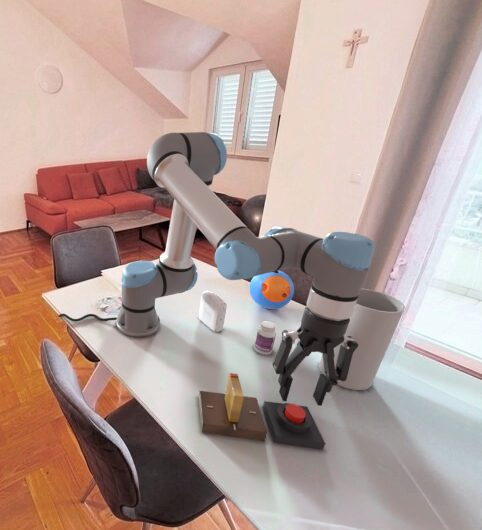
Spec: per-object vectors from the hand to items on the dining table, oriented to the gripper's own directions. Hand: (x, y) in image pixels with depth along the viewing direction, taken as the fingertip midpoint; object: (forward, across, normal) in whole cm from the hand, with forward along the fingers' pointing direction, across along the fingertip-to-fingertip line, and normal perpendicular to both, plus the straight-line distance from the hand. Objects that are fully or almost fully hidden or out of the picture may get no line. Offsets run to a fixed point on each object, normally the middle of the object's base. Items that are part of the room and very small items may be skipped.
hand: (299, 398), depth 70 cm
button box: (+9, 0, 0) cm, 9 cm away
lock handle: (+6, +14, 0) cm, 15 cm away
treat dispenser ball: (+9, -10, -58) cm, 60 cm away
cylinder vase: (+9, -21, -21) cm, 31 cm away
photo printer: (+9, +14, -41) cm, 44 cm away
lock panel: (+9, +14, 0) cm, 17 cm away
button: (+6, 0, 0) cm, 6 cm away
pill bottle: (+9, -1, -29) cm, 30 cm away
